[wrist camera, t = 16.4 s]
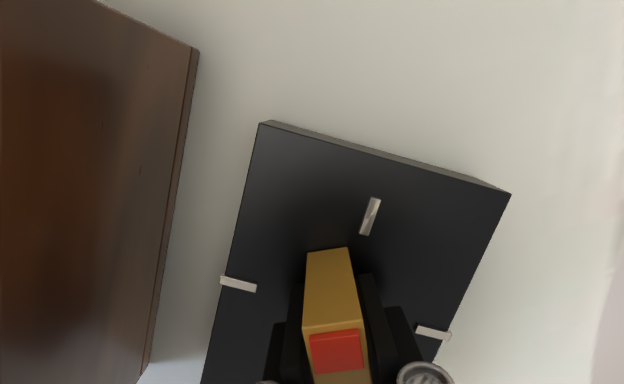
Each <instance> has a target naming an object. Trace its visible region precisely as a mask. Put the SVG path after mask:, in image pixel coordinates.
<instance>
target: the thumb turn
mask: <svg viewBox="0 0 624 384" xmlns="http://www.w3.org/2000/svg"><path fill="white" fill-rule="evenodd" d="M302 332H303V337H304V342H305V346H306V351H307V355H308V360H309V364H310V369H311V373H312V378H313V382H314V384H372V378H371V372H370V365H369V359H368V349H367V342H366V336H365V329H364V323H363V317H362V313H361V308H360V303H359V298H358V294H357V289H356V284H355V280H354V275H353V270H352V266H351V261H350V256H349V252H348V248H347V247H343V248H336V249H330V250H323V251H316V252H310V253H307V262H306V276H305V289H304V303H303V317H302Z"/></svg>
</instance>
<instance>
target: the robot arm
mask: <svg viewBox="0 0 624 384" xmlns="http://www.w3.org/2000/svg"><path fill="white" fill-rule="evenodd" d="M354 280H355V284H356V289H357V294H358V298H359V303H360V308H361V313H362V317H363V323H364V329H365V336H366V342H367V349H368V359H369V365H370V372H371V378H372V384H455V383H454V381H453V379H452V378H451V376H450V375H449V374H448V372H446V371H445V370H444V369H443V368H441V367H440V366H438V365H436V364H434V363H430V362H426V361H424V360H423V357H422V355H421V353H420V350H419V348H418V346H417V343H416V341H415V338H414V336H413V334H412V331H411V329H410V326H409V324H408V322H407V319H406V317H405V314H404V312H403V310H402V308H401V306H393V307H386V308H383V306H382V303H381V299H380V296H379V293H378V290H377V287H376V284H375V281H374V278H373V275H372V273H366V274H360V275H358V279H354ZM304 289H305V283H299V284H292V286H291V292H290V299H289V306H288V312H287V319H286V322H279V323H274V325H273V329H272V334H271V339H270V343H269V348H268V353H267V358H266V363H265V368H264V373H263V378H262V382H258V383H256V384H314V382H313V378H312V373H311V369H310V364H309V360H308V355H307V351H306V346H305V342H304V337H303V332H302V317H303V303H304Z"/></svg>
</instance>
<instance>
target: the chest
mask: <svg viewBox="0 0 624 384" xmlns="http://www.w3.org/2000/svg"><path fill="white" fill-rule="evenodd" d="M198 57H199V50H197V49H195V48H193V47H191V46H189V45H187V44H185V43H183V42H181V41H179V40H177V39H175V38H173V37H171V36H169V35H166V34H164V33H162V32H160V31H158V30H156V29H154V28H152V27H150V26H148V25H146V24H144V23H142V22H139V21H137V20H135V19H133V18H131V17H129V16H127V15H125V14H123V13H121V12H119V11H117V10H115V9H113V8H110V7H108V6H106V5H104V4H102V3H100V2H98V1H96V0H0V384H136V383H137V381H138V380H139V377H140V376H141V375H142V374H143V372H144V371H145V369H146V368H147V366H148V362H149V356H150V350H151V344H152V338H153V332H154V326H155V320H156V314H157V308H158V301H159V295H160V289H161V283H162V277H163V271H164V265H165V259H166V253H167V247H168V240H169V234H170V228H171V222H172V216H173V210H174V204H175V198H176V192H177V186H178V179H179V173H180V167H181V161H182V155H183V149H184V143H185V137H186V131H187V125H188V118H189V112H190V106H191V100H192V94H193V88H194V82H195V76H196V70H197V64H198Z"/></svg>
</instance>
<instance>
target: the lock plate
mask: <svg viewBox="0 0 624 384" xmlns="http://www.w3.org/2000/svg"><path fill="white" fill-rule="evenodd" d="M511 195H512V194H511V193H509V192H506V191H504V190H502V189H500V188H497V187H495V186H493V185H491V184H488V183H486V182H484V181H482V180H479V179H477V178H474V177H471V176H467V175H464V174H460V173H457V172H453V171H450V170H446V169H443V168H439V167H436V166H432V165H429V164H425V163H422V162H418V161H415V160H411V159H407V158H404V157H400V156H397V155H393V154H390V153H386V152H383V151H379V150H376V149H372V148H369V147H365V146H362V145H358V144H355V143H351V142H348V141H344V140H341V139H337V138H333V137H330V136H326V135H323V134H319V133H316V132H312V131H309V130H305V129H302V128H298V127H295V126H291V125H288V124H284V123H281V122H277V121H274V120H268V121H264V122H261V123H259V125H258V129H257V134H256V138H255V143H254V147H253V152H252V156H251V160H250V165H249V169H248V174H247V178H246V183H245V187H244V192H243V196H242V200H241V205H240V209H239V214H238V218H237V223H236V227H235V231H234V236H233V240H232V245H231V249H230V254H229V258H228V262H227V267H226V271H225V274H222V275H221V277H220V282H219V284H222V289H221V293H220V298H219V302H218V307H217V311H216V316H215V320H214V325H213V329H212V333H211V338H210V342H209V347H208V351H207V356H206V360H205V364H204V369H203V373H202V378H201V382H200V384H256V383H258V382H262V378H263V373H264V368H265V363H266V358H267V353H268V348H269V343H270V339H271V334H272V329H273V325H274V323H279V322H286V319H287V312H288V306H289V299H290V292H291V286H292V284H299V283H305V276H306V262H307V253H310V252H316V251H323V250H330V249H336V248H343V247H347V248H348V252H349V256H350V261H351V266H352V270H353V275H354V279H358V275H360V274H366V273H372V275H373V278H374V281H375V284H376V287H377V290H378V293H379V296H380V299H381V303H382V306H383V308H386V307H393V306H401V308H402V310H403V312H404V314H405V317H406V319H407V322H408V324H409V326H410V329H411V331H412V334H413V336H414V338H415V341H416V343H417V346H418V348H419V350H420V353H421V355H422V357H423V360H424V361H426V362H430V363H432V362H433V360H434V358H435V356H436V354H437V352H438V349H439V347H440V345H441V343H442V341H443V340H445V341H449V339H450V337H451V335H452V334H451V332H450V331H447V330H448V328H449V326H450V324H451V322H452V320H453V318H454V316H455V314H456V311H457V309H458V307H459V305H460V303H461V301H462V299H463V297H464V294H465V292H466V290H467V288H468V286H469V284H470V282H471V280H472V278H473V275H474V273H475V271H476V269H477V267H478V265H479V263H480V261H481V259H482V256H483V254H484V252H485V250H486V248H487V246H488V244H489V242H490V240H491V237H492V235H493V233H494V231H495V229H496V227H497V225H498V223H499V221H500V218H501V216H502V214H503V212H504V210H505V208H506V206H507V204H508V202H509V199H510V197H511Z"/></svg>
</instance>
